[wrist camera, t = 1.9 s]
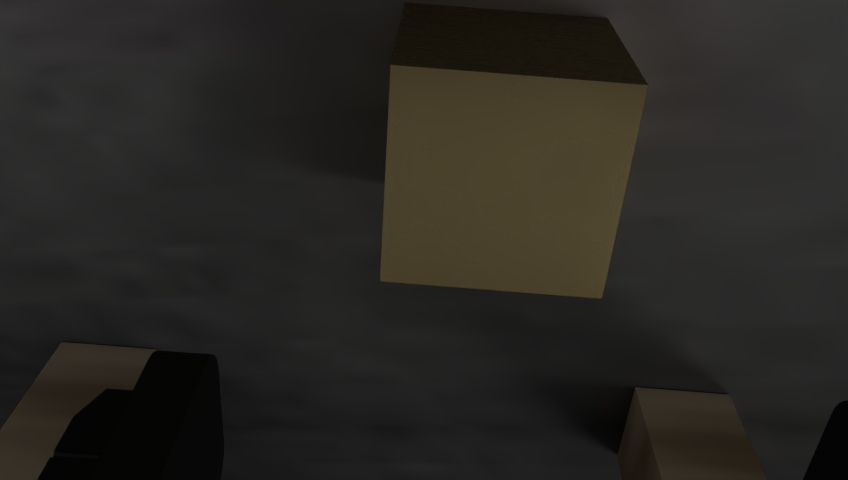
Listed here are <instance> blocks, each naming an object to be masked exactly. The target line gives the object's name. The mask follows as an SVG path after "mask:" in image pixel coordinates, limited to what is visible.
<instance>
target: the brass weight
mask: <svg viewBox="0 0 848 480" xmlns="http://www.w3.org/2000/svg"><path fill="white" fill-rule="evenodd" d="M647 89H648V84H647V82H646V81H645V79H644V77H643V76H642V74H641V72H640V71H639V69H638V67H637V66H636V64H635V62H634V61H633V59H632V58H631V56H630V54H629V53H628V51H627V49H626V48H625V46H624V44H623V43H622V41H621V39H620V38H619V36H618V35H617V33H616V31H615V30H614V28H613V26H612V25H611V23H610V21H609V20H608V18H597V17H584V16H571V15H559V14H546V13H533V12H520V11H508V10H495V9H482V8H470V7H457V6H444V5H432V4H419V3H406V2H405V6H404V10H403V14H402V19H401V23H400V27H399V31H398V36H397V40H396V44H395V48H394V53H393V57H392V61H391V67H390V87H389V108H388V128H387V148H386V168H385V189H384V209H383V229H382V250H381V270H380V281H382V282H395V283H408V284H421V285H433V286H446V287H459V288H472V289H484V290H497V291H510V292H523V293H535V294H548V295H561V296H574V297H587V298H599V299H602V296H603V292H604V287H605V282H606V278H607V273H608V269H609V264H610V259H611V255H612V250H613V246H614V241H615V236H616V232H617V227H618V223H619V218H620V213H621V209H622V204H623V200H624V195H625V190H626V186H627V181H628V177H629V172H630V167H631V163H632V158H633V154H634V149H635V144H636V140H637V135H638V131H639V126H640V121H641V117H642V112H643V108H644V103H645V98H646V94H647Z"/></svg>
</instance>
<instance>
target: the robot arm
mask: <svg viewBox="0 0 848 480" xmlns="http://www.w3.org/2000/svg"><path fill="white" fill-rule="evenodd" d="M223 456H224V437H223V424H222V411H221V398H220V385H219V372H218V363H217V359H216V357H215V355H212V354H198V353H183V352H169V351H155V352H153V353H152V354H151V356H150V357H149V359H148V361H147V363H146V365H145V367H144V369H143V371H142V373H141V375H140V377H139V379H138V381H137V383H136V385H135V387H134V389H133V390H122V389H108V388H107V389H106V390H104V391H103V392H102V393H101V394H100V395H98V396H97V397H96V398H95V399H94V400H92V401H91V402H90V403H89V404H88V405H86V406H85V407H84V408H83V409H82V410H80V411H79V412H78V413H77V414H76V415H74V416H73V418H72V420H71V421H70V423H69V425H68V427H67V428H66V430H65V432H64V434H63V435H62V437H61V439H60V441H59V442H58V444H57V446H56V448H55V449H54V455H53V457H50V458H49V460H48V461H47V463H46V465H45V467H44V468H43V470H42V472H41V474H40V475H39V477H38V480H220V479H221V473H222V466H223ZM803 480H848V401H843V402H841V403H839V404H838V405H837V406H836V407H835V409H834V410H833V412H832V414H831V416H830V419H829V421H828V423H827V426H826V428H825V430H824V432H823V435H822V437H821V439H820V442H819V444H818V446H817V449H816V451H815V453H814V455H813V458H812V460H811V462H810V465H809V467H808V469H807V472H806V474H805V476H804V479H803Z"/></svg>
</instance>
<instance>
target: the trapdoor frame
mask: <svg viewBox="0 0 848 480" xmlns="http://www.w3.org/2000/svg"><path fill="white" fill-rule="evenodd" d="M155 351H157V350H156V349H145V348H132V347H120V346H107V345H94V344H81V343H69V342H61V344H60V345H59V346H58V348H57V349H56V351H55V352H54V354H53V355H52V356H51V358H50V359H49V361H48V362H47V364H46V365H45V366H44V368H43V369H42V371H41V372H40V374H39V375H38V376H37V378H36V379H35V381H34V382H33V384H32V385H31V386H30V388H29V389H28V391H27V392H26V394H25V395H24V396H23V398H22V399H21V401H20V402H19V404H18V405H17V406H16V408H15V409H14V411H13V412H12V414H11V415H10V416H9V418H8V419H7V421H6V422H5V424H4V425H3V426H2V428H1V429H0V480H38V477H39V475H40V474H41V472H42V470H43V468H44V467H45V465H46V463H47V461H48V460H49V458H50V457H53V455H54V449H55V448H56V446H57V444H58V442H59V441H60V439H61V437H62V435H63V434H64V432H65V430H66V428H67V427H68V425H69V423H70V421H71V420H72V418H73V416H74V415H76V414H77V413H78V412H79V411H80V410H82V409H83V408H84V407H85V406H86V405H88V404H89V403H90V402H91V401H92V400H94V399H95V398H96V397H97V396H98V395H100V394H101V393H102V392H103V391H104V390H106V389H107V388H108V389H122V390H133V389H134V387H135V385H136V383H137V381H138V379H139V377H140V375H141V373H142V371H143V369H144V367H145V365H146V363H147V361H148V359H149V357H150V356H151V354H152V353H153V352H155ZM617 458H618V462H619V466H620V470H621V475H622V479H623V480H767V479H766V477H765V474H764V472H763V470H762V468H761V465H760V463H759V461H758V458H757V456H756V454H755V452H754V449H753V447H752V445H751V443H750V440H749V438H748V436H747V433H746V431H745V429H744V427H743V424H742V422H741V420H740V417H739V415H738V413H737V411H736V408H735V406H734V404H733V402H732V399H731V397H730V395H728V394H716V393H703V392H690V391H677V390H665V389H652V388H639V387H635V390H634V394H633V398H632V401H631V405H630V409H629V413H628V417H627V420H626V424H625V428H624V432H623V436H622V440H621V443H620V447H619V451H618V455H617Z"/></svg>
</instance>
